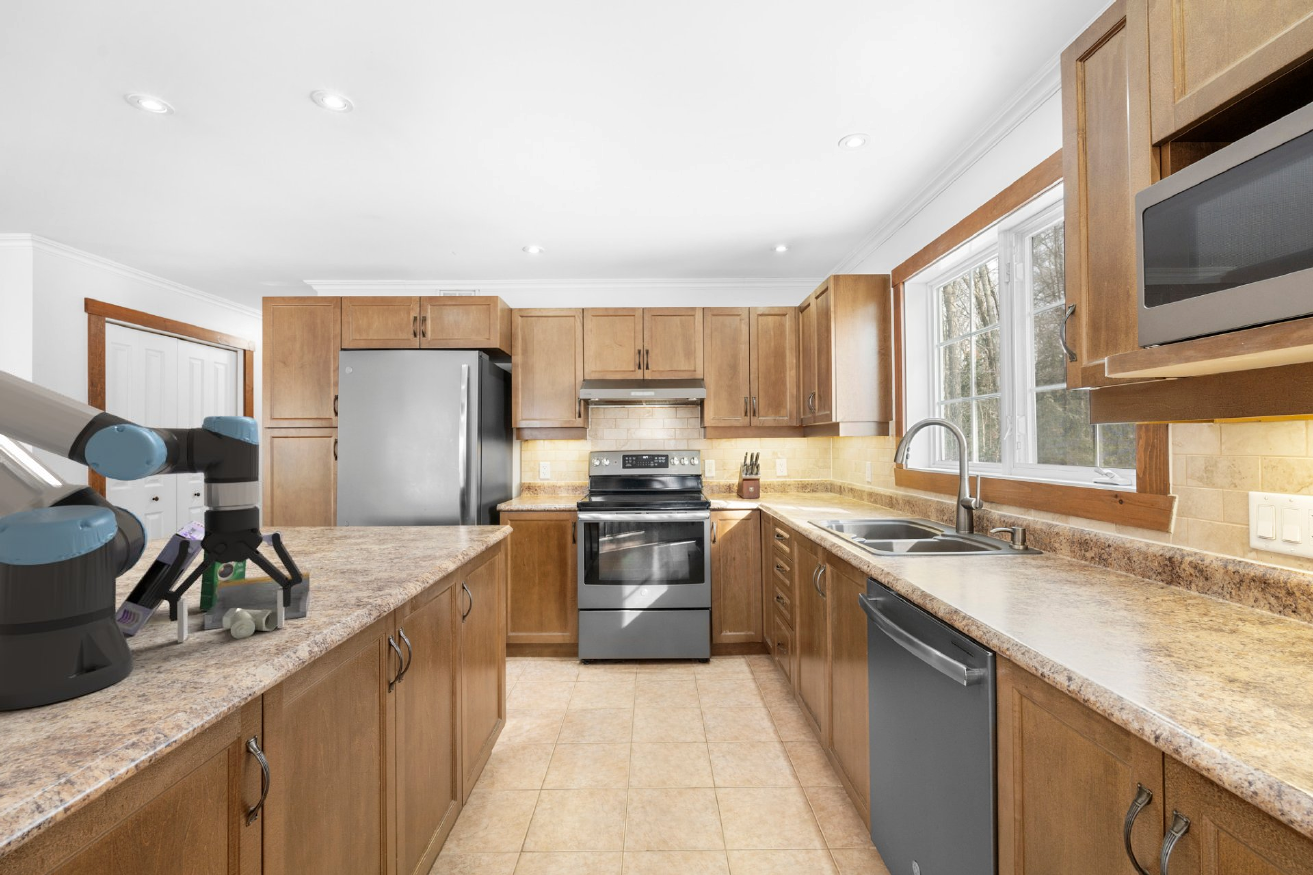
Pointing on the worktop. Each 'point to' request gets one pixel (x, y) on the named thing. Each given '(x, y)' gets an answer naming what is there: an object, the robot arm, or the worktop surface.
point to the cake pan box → (156, 581)
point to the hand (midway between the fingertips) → (233, 632)
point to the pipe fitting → (249, 621)
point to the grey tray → (257, 598)
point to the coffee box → (218, 579)
